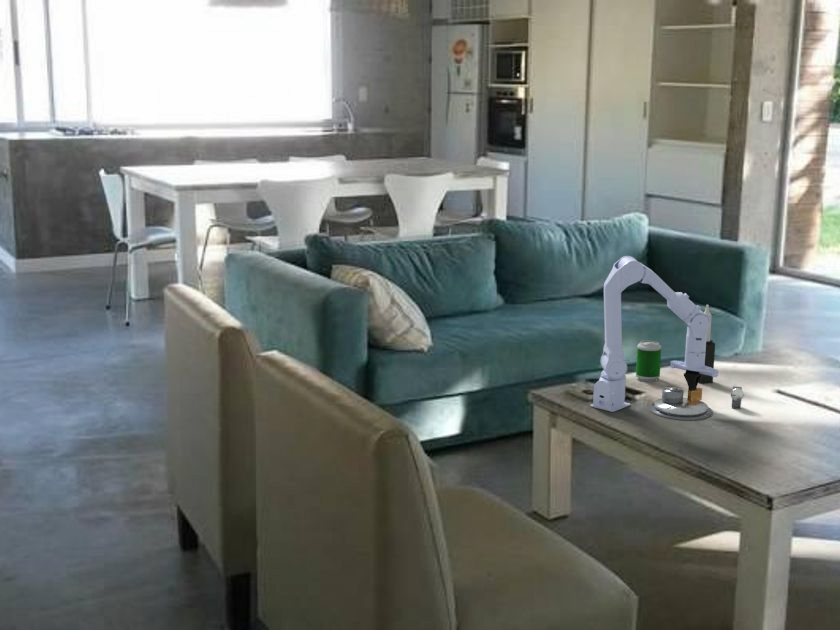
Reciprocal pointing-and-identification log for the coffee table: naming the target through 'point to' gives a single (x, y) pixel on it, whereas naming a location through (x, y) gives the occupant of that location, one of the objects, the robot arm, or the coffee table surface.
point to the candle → (708, 351)
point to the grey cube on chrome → (737, 397)
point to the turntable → (685, 405)
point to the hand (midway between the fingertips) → (692, 395)
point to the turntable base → (654, 411)
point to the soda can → (648, 361)
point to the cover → (672, 395)
